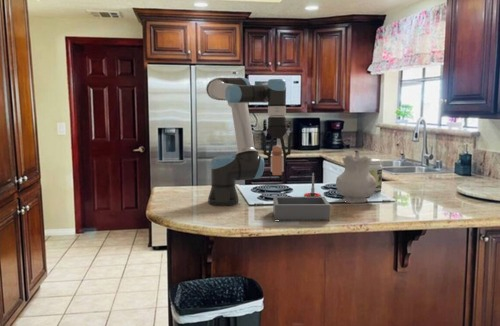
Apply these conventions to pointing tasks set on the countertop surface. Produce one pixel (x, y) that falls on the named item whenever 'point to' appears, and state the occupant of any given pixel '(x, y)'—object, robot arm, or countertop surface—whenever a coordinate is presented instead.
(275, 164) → the wooden peg
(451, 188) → the countertop surface
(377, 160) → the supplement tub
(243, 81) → the robot arm
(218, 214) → the countertop surface
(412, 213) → the countertop surface
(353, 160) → the ceramic pitcher
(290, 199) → the open box
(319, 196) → the tow hook
